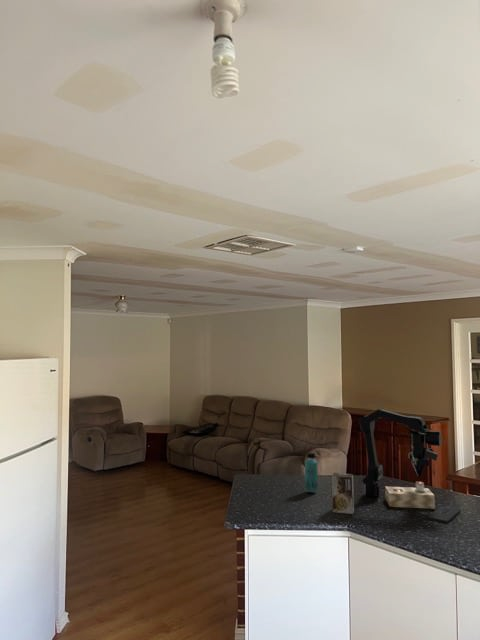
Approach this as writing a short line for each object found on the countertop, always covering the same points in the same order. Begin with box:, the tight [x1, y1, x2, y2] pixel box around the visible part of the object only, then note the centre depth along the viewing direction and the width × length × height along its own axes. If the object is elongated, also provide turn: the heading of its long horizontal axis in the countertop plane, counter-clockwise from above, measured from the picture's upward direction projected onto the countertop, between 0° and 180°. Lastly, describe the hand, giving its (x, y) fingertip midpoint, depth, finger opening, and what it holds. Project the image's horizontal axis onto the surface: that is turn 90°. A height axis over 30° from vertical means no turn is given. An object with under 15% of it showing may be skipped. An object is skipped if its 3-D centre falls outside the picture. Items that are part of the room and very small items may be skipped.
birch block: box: [384, 485, 436, 510], centre depth 222 cm, size 20×12×6 cm, turn 82°
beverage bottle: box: [304, 452, 318, 492], centre depth 240 cm, size 6×7×20 cm
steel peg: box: [415, 481, 425, 493], centre depth 222 cm, size 4×4×6 cm
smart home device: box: [427, 505, 461, 524], centre depth 205 cm, size 8×2×20 cm
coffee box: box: [331, 472, 355, 515], centre depth 211 cm, size 9×6×16 cm
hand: (419, 477), depth 222 cm, fingers closed
